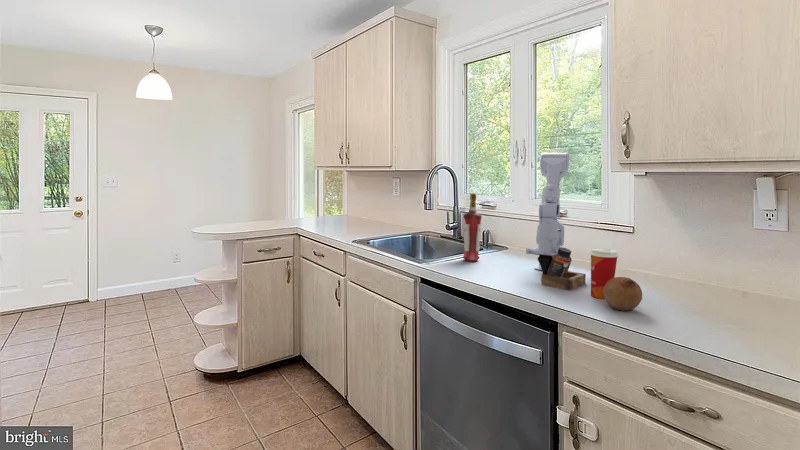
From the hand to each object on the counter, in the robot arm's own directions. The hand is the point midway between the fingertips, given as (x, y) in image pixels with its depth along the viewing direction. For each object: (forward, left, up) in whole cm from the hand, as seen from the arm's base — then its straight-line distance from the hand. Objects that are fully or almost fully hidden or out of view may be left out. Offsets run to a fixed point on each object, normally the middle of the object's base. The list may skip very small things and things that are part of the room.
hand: (545, 277), depth 144 cm
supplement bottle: (0, +3, -1) cm, 3 cm away
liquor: (-9, -37, -1) cm, 38 cm away
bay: (0, +6, -1) cm, 6 cm away
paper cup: (+6, +20, -1) cm, 21 cm away
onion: (+14, +28, -1) cm, 31 cm away
